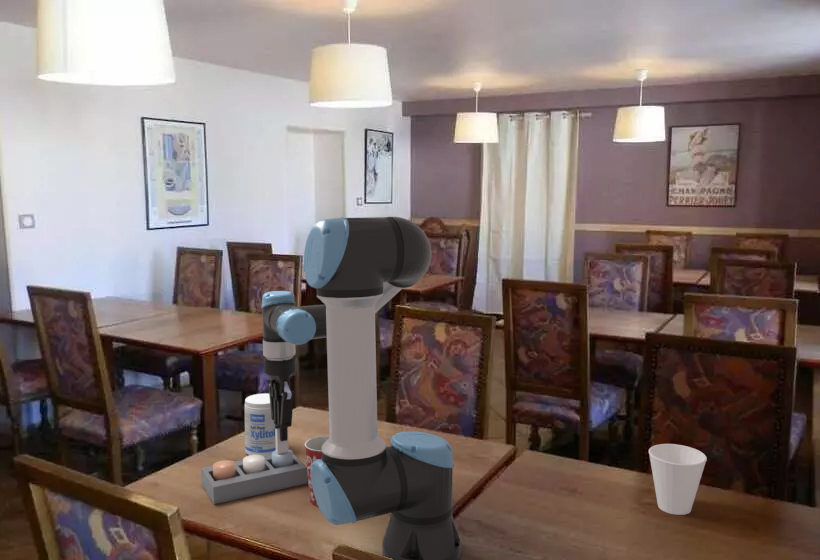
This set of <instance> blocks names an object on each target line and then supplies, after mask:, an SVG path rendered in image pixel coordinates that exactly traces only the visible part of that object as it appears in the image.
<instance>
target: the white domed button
mask: <svg viewBox="0 0 820 560" xmlns="http://www.w3.org/2000/svg"><path fill="white" fill-rule="evenodd" d="M242 460H243V473H244V474H245V475H247V474H252V473H257V472H261V471H265V457H264V456H262V455H247V456H244V457H243V459H242Z"/></svg>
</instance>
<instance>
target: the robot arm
mask: <svg viewBox="0 0 820 560" xmlns="http://www.w3.org/2000/svg"><path fill="white" fill-rule="evenodd" d="M432 253H433V252H432V246H431V243H430V240H429V238H428V237H427V234H426V233H425V231H424V230H423V229H422V228H421V227H420V226H419V225H418V224H416V223H415V222H414V221H412V220H409V219H407V218H404V217H400V216H387V217H386V216H385V217H383V216H381V217H380V216H378V217H377V216H375V217H373V216H372V217H342V216H340V217H336V218H335V217H334V218H325V219H321V220H319V221H317V222H316V223H315V224H313V226H312V228H311V229H310V231H309V233H308V235H307V238H306V242H305V246H304V252H303V271H304V274H305V275H304V276H305V281H306V283H307V285H308V286H310V287H311V288H313V289H316V298H317V299H318V300H320V301H321V302H322V303H323V304H313V305H302V306H296V304H297V303H296V300H295V295H294V292H292V291H288V290H273V291H267V292H265V293H264V294H263V295H262V297H261V298H262V300H261V311H262V312H261V313H262V317H261V319H262V355H263V357H264V358H263V373H264V374H265V375H266V376H270V379H267V381H266V383H267V387H268V394H269V396H270V406H271V416H272V417H271V418H272V420H274V424H275V425H276V426H275V441H276V453H277V454H281V453H286V452H289V450H290V449H289V448H290V447H289V427H292V423H293V409H294V408H293V407H294V398H295V395H296V393H295V390H291V388H292V382H291V380H290V376H291V375H293V374H295V373H296V371H297V357H296V356H295V355H296V350H297V349H296V346H297V345H298V346H300V345H304V344H306V343H309V341H311V340H315V339H317V340H318V339H324V338H325V339H326V354H327V355H326V356H327V358H326V359H327V386H328V387H327V389H328V392H327V393H328V420H329V421H328V423H329V424H328V425H329V427H328V428H329V429H328V430H329V431H328V432H329V436H330V437H329V439H328V440H327V441H326V442H325V443H324V444H323V445H322V449H321V450H322V459H321V460H320V459H317V460H316V461H314V462H313V463H312V465H311V470H310V475H311V483H312V488H313V492H314V495H315V498H316V501H317V504H318V506H317V507H318V508H319V511H320V512H321V514H322V516H323V517H324V519H325V520H326V521H327V522H328V523H330V524H332V525H336V526H339V525H344V524H345V525H346V524H349V523H351V524H355V523H357V522H360V521H364V520H367V519H372V518H375V517H379V516H383V515H387V514H391V515H390V518H389V521H388V524H387V528H386V529H385V534H384V535H383V538H382V557H383V556H385V557H388V558H392V559H393V560H460V559H461V556H462V542H461V539H460V535H459V532H458V529H457V526H456V522H455V519H454V517H453V485H454V483H453V480H454V479H453V476H454V475H453V473H454V472H453V470H454V467H455V465H454V458H453V457H454V456H453V449H452V446H451V444H450V442H448V441H447V440H446V439H445V438H444V437H441V436H439V435H436V434H432V433H429V432H424V431H422V432H421V431H412V430H411V431H408V430H407V431H400V432H396V433H395V434H393V435H392V436H391V439H390V440H389V441H390V442H389V443H390V445H389V446H387V443H386V441H385V440H384V439H383V438H381V437H380V436H379V434H378V398H377V397H378V396H377V395H378V394H377V393H378V391H377V390H378V388H377V386H378V384H377V352H376V351H377V344H376V338H377V337H376V314H377V312H378V311H380V310H381V309H382V307H384V306H385V305H386V304H387V303H388V302H390V300H392V299H393V298H394V297H395V296H396V295H397V294H398V293H399V292H400V291H401V290H403V289H408V288H411V287H413V286H415V285H416V284H417V282H419V281H420V280H421V279H422V278H423V277H424V276H425V275H426V273H427V272H428V270H429V268H430V266H431V262H432Z"/></svg>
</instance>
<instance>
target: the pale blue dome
mask: <svg viewBox="0 0 820 560" xmlns="http://www.w3.org/2000/svg"><path fill="white" fill-rule="evenodd" d="M293 454H294V452H293V450H292V449H289V452H286V453H281V454H277V453H276V450H275V451H273V452H272V467H273V468H274V469H276V468H281V467H285V466H290V465H293Z"/></svg>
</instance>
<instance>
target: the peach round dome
mask: <svg viewBox="0 0 820 560" xmlns="http://www.w3.org/2000/svg"><path fill="white" fill-rule="evenodd" d="M234 461H235V460H234ZM234 461H233V460H230V459H229V460H228V459H227V460H225V459H224V460H218V461H216V462H214V463H213V464H212V466H213V480H214V481H218V480H223V479H228V478H233V477H236V471H235V462H234Z"/></svg>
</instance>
